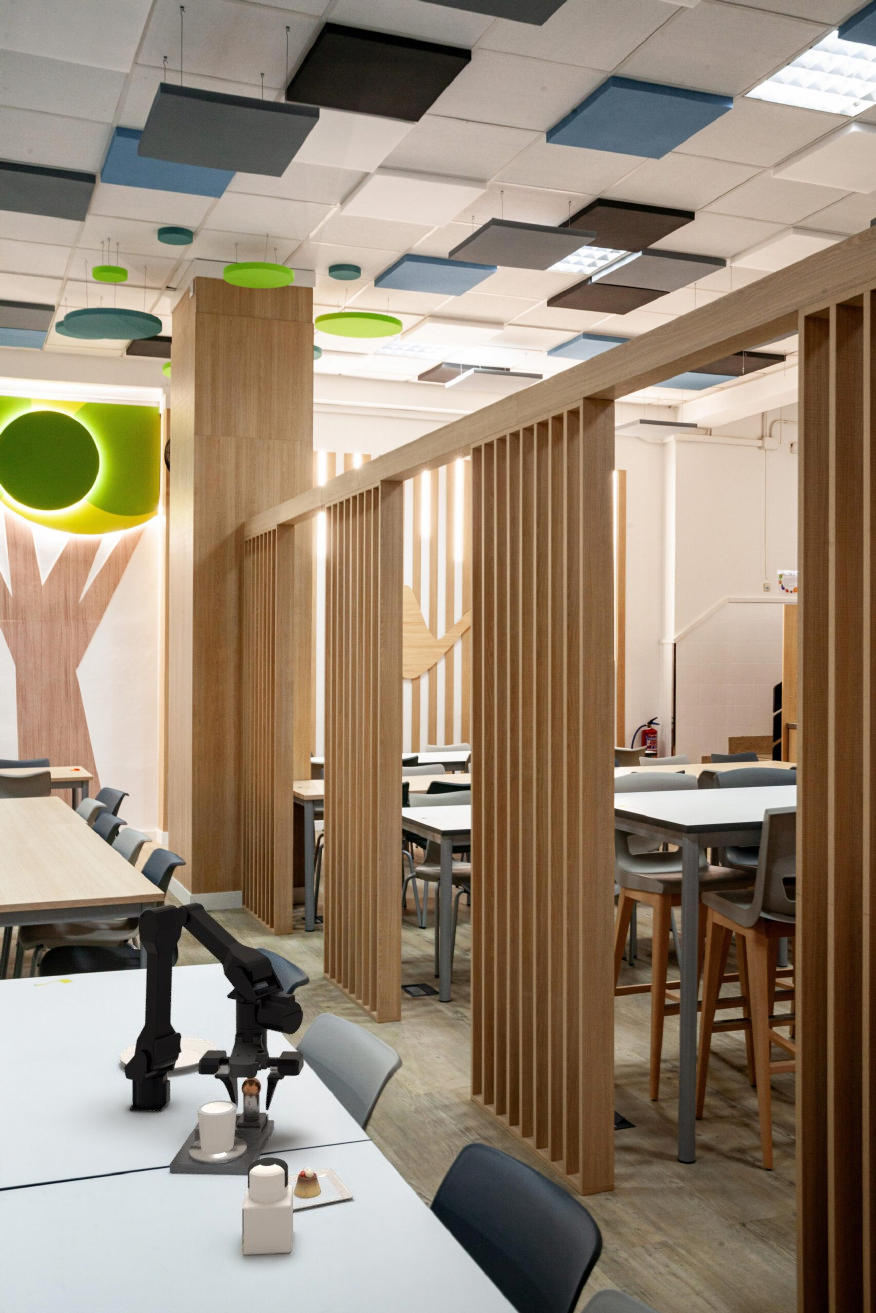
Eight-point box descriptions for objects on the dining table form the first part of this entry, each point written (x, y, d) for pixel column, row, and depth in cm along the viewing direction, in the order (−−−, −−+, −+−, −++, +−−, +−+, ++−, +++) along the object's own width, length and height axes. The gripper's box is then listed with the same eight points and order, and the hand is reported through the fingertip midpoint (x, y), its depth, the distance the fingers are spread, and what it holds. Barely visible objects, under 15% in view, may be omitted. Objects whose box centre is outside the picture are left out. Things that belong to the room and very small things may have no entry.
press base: (169, 1172, 195) (169, 1157, 195) (200, 1126, 215) (200, 1112, 215) (250, 1174, 194) (250, 1158, 194) (273, 1127, 214) (273, 1113, 214)
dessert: (262, 1187, 190) (262, 1158, 191) (330, 1174, 195) (330, 1146, 195) (282, 1218, 180) (282, 1187, 180) (354, 1203, 184) (353, 1173, 184)
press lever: (236, 1131, 208) (236, 1082, 208) (242, 1121, 213) (242, 1073, 213) (260, 1131, 208) (260, 1082, 208) (266, 1121, 213) (265, 1073, 213)
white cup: (228, 1156, 196) (227, 1115, 196) (191, 1153, 197) (190, 1113, 198) (243, 1140, 203) (242, 1101, 203) (207, 1137, 204) (206, 1098, 204)
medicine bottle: (246, 1232, 174) (246, 1153, 174) (293, 1230, 175) (292, 1151, 175) (242, 1255, 167) (242, 1173, 167) (291, 1253, 167) (290, 1171, 168)
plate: (100, 1072, 246) (100, 1061, 246) (158, 1042, 265) (158, 1033, 266) (181, 1084, 238) (180, 1073, 238) (234, 1053, 258) (234, 1043, 258)
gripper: (190, 1037, 203) (190, 1125, 203) (293, 1039, 202) (293, 1127, 202) (206, 1019, 214) (206, 1102, 214) (304, 1020, 213) (304, 1103, 213)
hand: (251, 1109), depth 210 cm, fingers open, 6 cm apart
